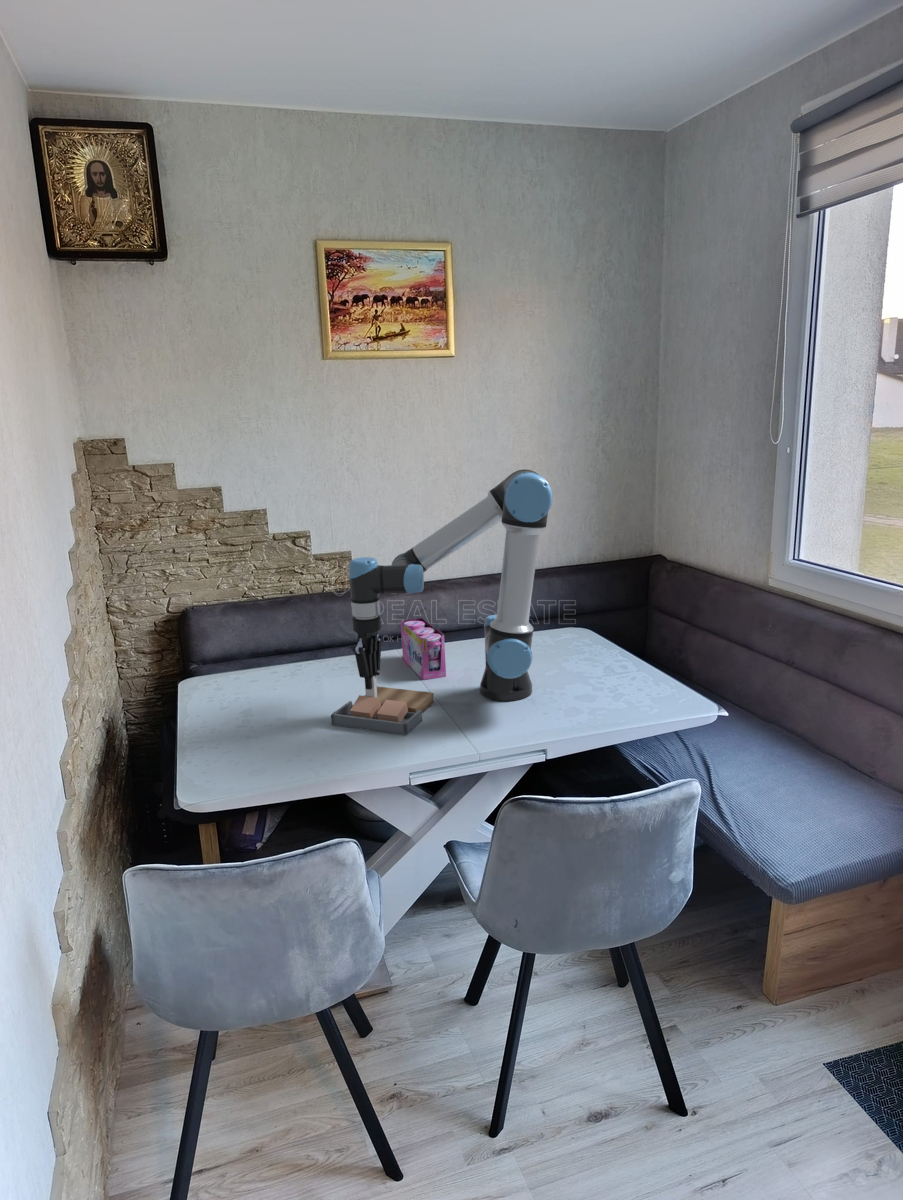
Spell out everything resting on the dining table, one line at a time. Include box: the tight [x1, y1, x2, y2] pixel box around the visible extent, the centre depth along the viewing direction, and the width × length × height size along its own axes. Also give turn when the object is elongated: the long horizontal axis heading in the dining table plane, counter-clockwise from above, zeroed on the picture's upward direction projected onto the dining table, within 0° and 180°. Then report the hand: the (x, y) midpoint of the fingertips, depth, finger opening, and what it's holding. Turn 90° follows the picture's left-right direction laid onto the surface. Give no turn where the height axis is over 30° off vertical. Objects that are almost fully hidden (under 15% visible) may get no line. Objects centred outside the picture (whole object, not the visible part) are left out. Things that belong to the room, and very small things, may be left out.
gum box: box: [400, 617, 447, 681], centre depth 245 cm, size 24×8×14 cm, turn 20°
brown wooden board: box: [363, 686, 435, 714], centre depth 216 cm, size 18×12×3 cm, turn 68°
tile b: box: [350, 695, 381, 719], centre depth 208 cm, size 6×6×3 cm
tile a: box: [377, 700, 408, 722], centre depth 205 cm, size 6×6×3 cm
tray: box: [330, 700, 423, 736], centre depth 205 cm, size 22×10×3 cm, turn 68°
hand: (371, 698), depth 211 cm, fingers closed
